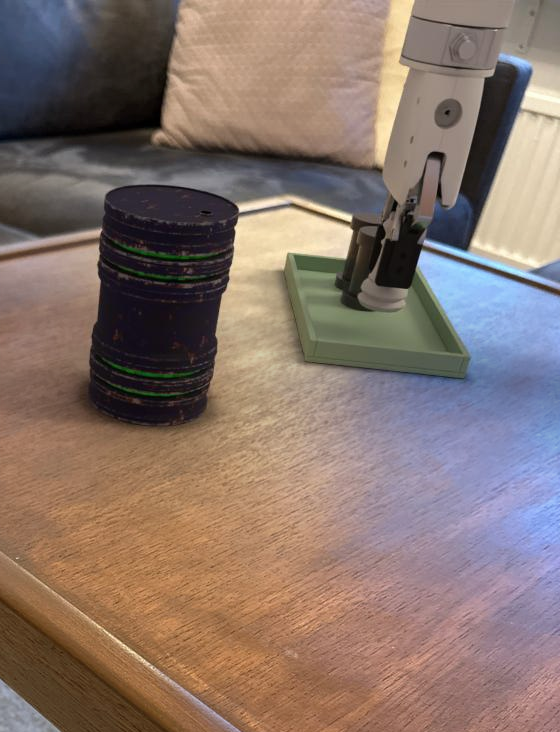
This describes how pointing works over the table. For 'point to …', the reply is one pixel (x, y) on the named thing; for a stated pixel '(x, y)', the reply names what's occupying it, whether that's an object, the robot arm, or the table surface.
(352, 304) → the black piece
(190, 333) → the dark barrel
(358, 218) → the black piece
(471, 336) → the table surface
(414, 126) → the robot arm
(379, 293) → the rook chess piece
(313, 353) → the piece tray
